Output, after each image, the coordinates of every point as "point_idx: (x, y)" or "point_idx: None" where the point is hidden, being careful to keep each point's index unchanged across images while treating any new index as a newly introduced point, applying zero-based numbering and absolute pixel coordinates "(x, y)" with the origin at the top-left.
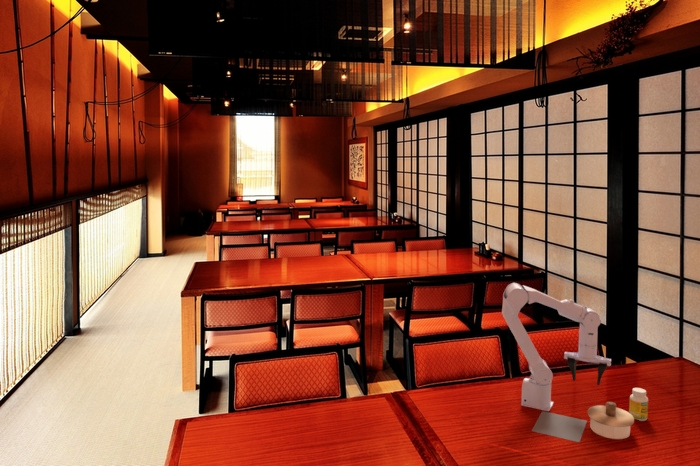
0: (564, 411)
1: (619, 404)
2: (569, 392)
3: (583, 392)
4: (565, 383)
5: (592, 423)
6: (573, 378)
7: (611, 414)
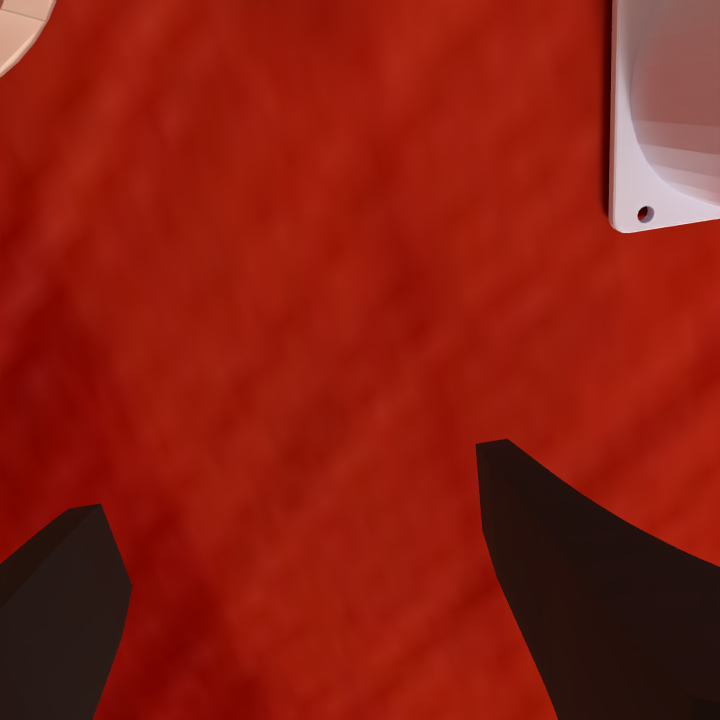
0: (459, 103)
1: None
2: None
3: (419, 625)
4: None
5: None
6: (512, 453)
7: None
